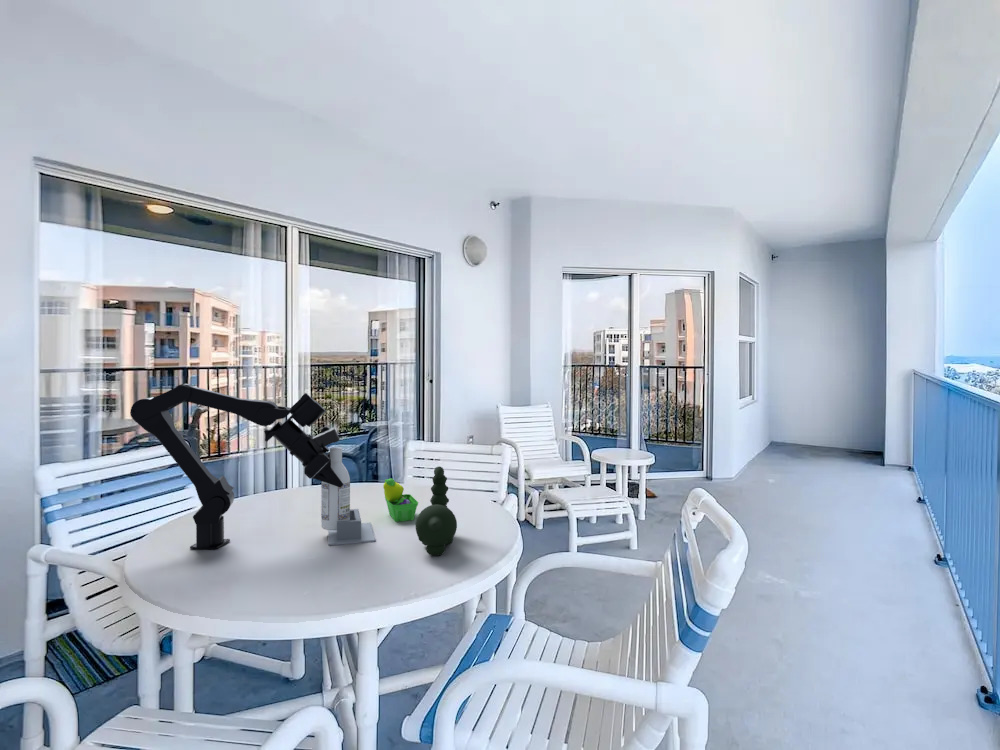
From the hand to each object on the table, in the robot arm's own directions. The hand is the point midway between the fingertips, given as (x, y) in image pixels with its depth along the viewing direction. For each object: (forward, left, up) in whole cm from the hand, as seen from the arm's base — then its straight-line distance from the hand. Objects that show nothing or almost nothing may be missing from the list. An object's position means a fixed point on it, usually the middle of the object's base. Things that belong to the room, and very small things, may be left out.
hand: (341, 482), depth 146 cm
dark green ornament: (-7, -26, -13) cm, 30 cm away
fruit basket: (+18, -11, -13) cm, 25 cm away
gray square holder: (+1, -2, -13) cm, 13 cm away
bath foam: (0, +1, -11) cm, 11 cm away
